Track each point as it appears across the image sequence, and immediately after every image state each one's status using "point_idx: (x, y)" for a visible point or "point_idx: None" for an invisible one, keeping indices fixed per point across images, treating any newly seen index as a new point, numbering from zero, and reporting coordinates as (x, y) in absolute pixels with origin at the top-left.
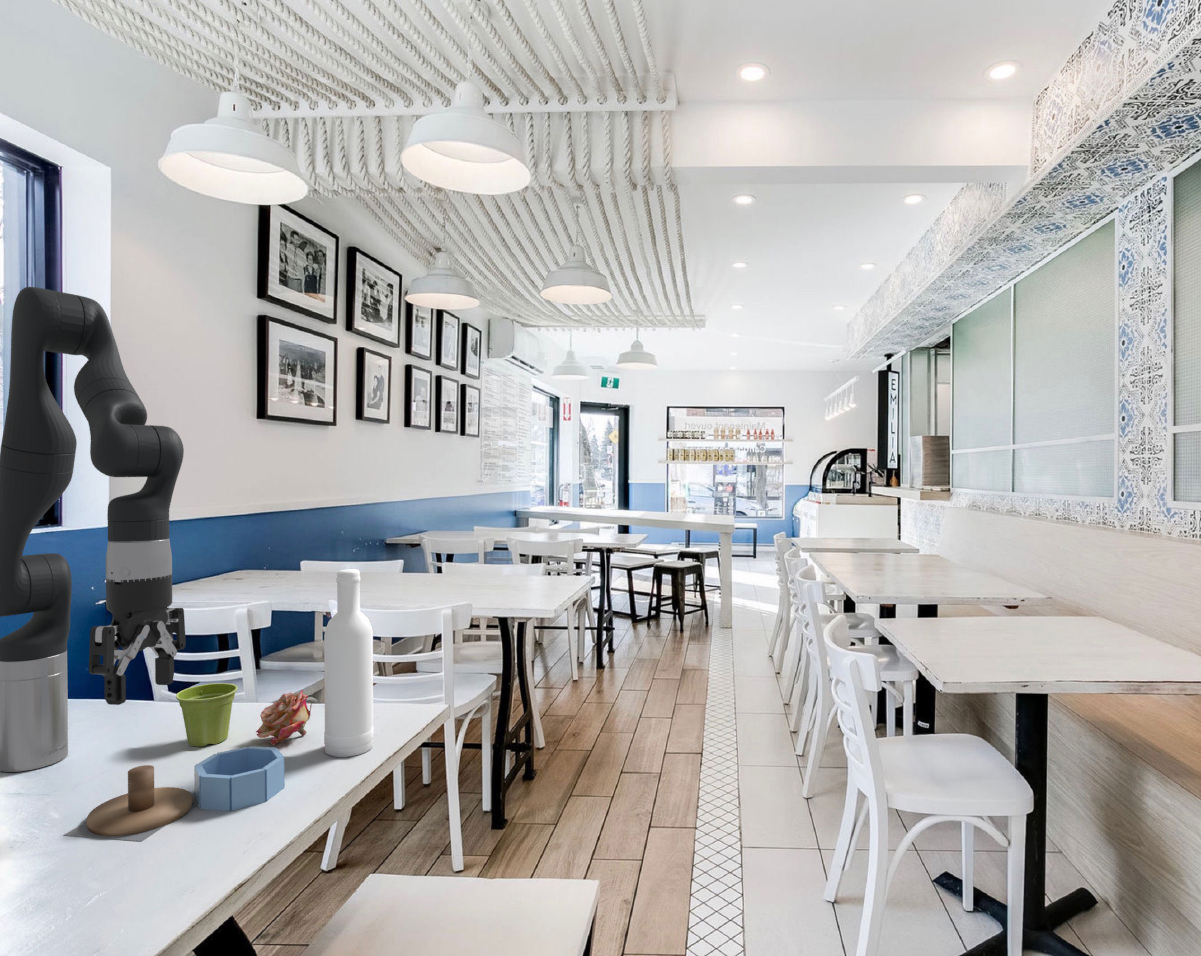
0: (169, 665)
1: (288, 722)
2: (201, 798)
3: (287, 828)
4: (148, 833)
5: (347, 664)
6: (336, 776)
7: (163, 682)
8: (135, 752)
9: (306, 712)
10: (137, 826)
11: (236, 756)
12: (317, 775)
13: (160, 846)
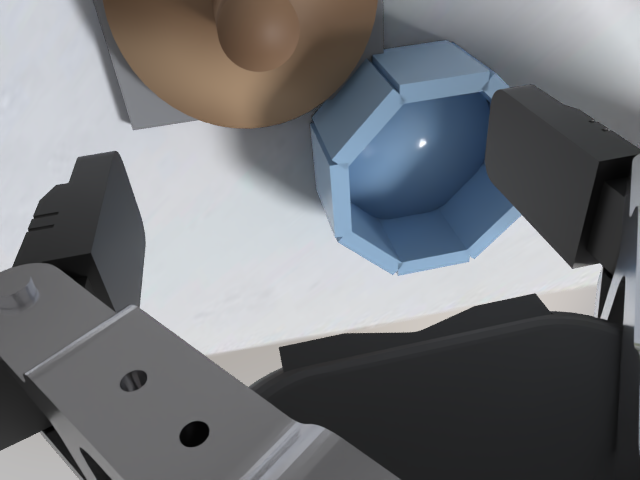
0: (546, 238)
1: None
2: (317, 139)
3: (294, 317)
4: (167, 113)
5: None
6: (515, 255)
7: (493, 144)
8: None
9: None
10: (156, 93)
11: None
12: (520, 220)
13: (151, 165)
